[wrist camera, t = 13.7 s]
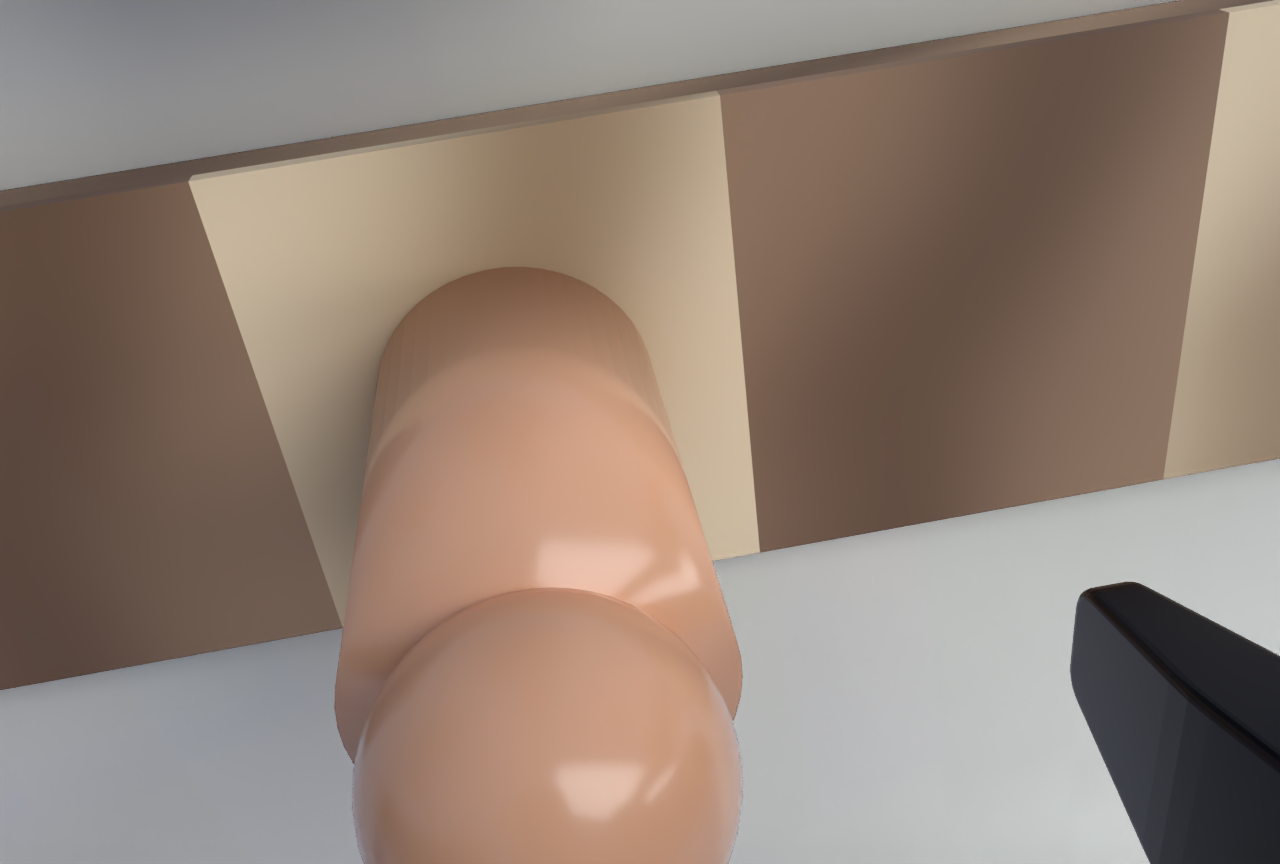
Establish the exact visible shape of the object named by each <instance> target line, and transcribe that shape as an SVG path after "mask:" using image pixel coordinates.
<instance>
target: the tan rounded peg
mask: <svg viewBox="0 0 1280 864" xmlns="http://www.w3.org/2000/svg"><path fill="white" fill-rule="evenodd" d="M742 678H743V677H742V663H741V656H740V652H739V648H738V644H737V640H736V637H735V633H734V630H733V627H732V624H731V620H730V617H729V614H728V611H727V607H726V604H725V601H724V598H723V594H722V591H721V588H720V585H719V581H718V578H717V575H716V572H715V568H714V565H713V562H712V559H711V555H710V552H709V549H708V546H707V542H706V539H705V536H704V533H703V529H702V526H701V523H700V520H699V516H698V513H697V510H696V507H695V503H694V500H693V497H692V494H691V490H690V487H689V484H688V481H687V478H686V474H685V471H684V468H683V465H682V461H681V458H680V455H679V452H678V448H677V445H676V442H675V439H674V435H673V432H672V429H671V426H670V422H669V419H668V416H667V413H666V409H665V406H664V403H663V400H662V396H661V393H660V390H659V387H658V383H657V380H656V377H655V374H654V370H653V367H652V364H651V361H650V357H649V354H648V351H647V349H646V346H645V344H644V342H643V339H642V337H641V335H640V333H639V332H638V330H637V329H636V327H635V325H634V324H633V322H632V321H631V320H630V318H629V317H628V316H627V315H626V314H625V312H624V311H623V310H622V309H621V308H620V307H619V306H618V305H617V304H616V303H614V302H613V301H612V300H611V299H610V298H609V297H608V296H606V295H605V294H603V293H602V292H600V291H599V290H597V289H596V288H594V287H593V286H591V285H589V284H587V283H585V282H583V281H581V280H579V279H576V278H574V277H571V276H568V275H565V274H562V273H559V272H555V271H550V270H546V269H540V268H529V267H503V268H496V269H490V270H484V271H480V272H476V273H473V274H469V275H466V276H463V277H461V278H459V279H456V280H454V281H451V282H449V283H447V284H445V285H444V286H442V287H440V288H438V289H437V290H435V291H433V292H432V293H430V294H429V295H428V296H427V297H425V298H424V299H423V300H421V301H420V302H419V303H417V304H416V305H415V307H414V308H413V309H412V310H411V311H410V312H409V313H408V314H407V315H406V316H405V317H404V318H403V319H402V321H401V322H400V323H399V325H398V326H397V327H396V329H395V330H394V332H393V334H392V336H391V338H390V339H389V341H388V343H387V345H386V348H385V350H384V353H383V356H382V359H381V362H380V367H379V372H378V377H377V385H376V392H375V399H374V407H373V414H372V421H371V428H370V436H369V443H368V450H367V458H366V465H365V472H364V480H363V487H362V494H361V502H360V509H359V516H358V524H357V531H356V538H355V545H354V553H353V560H352V567H351V575H350V582H349V589H348V597H347V604H346V611H345V619H344V626H343V633H342V641H341V648H340V655H339V663H338V670H337V677H336V684H335V706H334V708H335V715H336V721H337V728H338V730H339V733H340V736H341V739H342V742H343V745H344V747H345V749H346V751H347V753H348V755H349V756H350V758H351V760H352V762H353V764H354V770H353V794H352V811H353V817H354V824H355V830H356V837H357V843H358V848H359V851H360V854H361V857H362V860H363V863H364V864H728V863H729V860H730V857H731V854H732V851H733V847H734V844H735V841H736V837H737V834H738V829H739V822H740V815H741V807H742V798H743V781H742V764H741V755H740V750H739V744H738V739H737V735H736V732H735V728H734V724H733V720H734V718H735V715H736V712H737V708H738V704H739V701H740V697H741V688H742Z"/></svg>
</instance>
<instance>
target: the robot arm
mask: <svg viewBox="0 0 1280 864" xmlns="http://www.w3.org/2000/svg"><path fill="white" fill-rule="evenodd" d="M1070 673H1071V681H1072V686H1073V690H1074V693H1075V696H1076V699H1077V701H1078V704H1079V706H1080V708H1081V710H1082V713H1083V715H1084V717H1085V719H1086V722H1087V724H1088V726H1089V728H1090V731H1091V733H1092V735H1093V737H1094V740H1095V742H1096V744H1097V746H1098V748H1099V751H1100V753H1101V755H1102V757H1103V760H1104V762H1105V764H1106V766H1107V769H1108V771H1109V773H1110V775H1111V778H1112V780H1113V782H1114V784H1115V787H1116V789H1117V791H1118V793H1119V796H1120V798H1121V800H1122V802H1123V805H1124V807H1125V809H1126V811H1127V814H1128V816H1129V818H1130V820H1131V823H1132V825H1133V827H1134V829H1135V831H1136V834H1137V836H1138V838H1139V840H1140V843H1141V845H1142V847H1143V849H1144V851H1145V853H1146V856H1147V858H1148V860H1149V862H1150V864H1280V656H1279V655H1277V654H1275V653H1273V652H1271V651H1269V650H1267V649H1265V648H1263V647H1262V646H1260V645H1258V644H1256V643H1254V642H1252V641H1250V640H1248V639H1246V638H1244V637H1242V636H1240V635H1238V634H1237V633H1235V632H1233V631H1231V630H1229V629H1227V628H1225V627H1223V626H1221V625H1219V624H1217V623H1215V622H1214V621H1212V620H1210V619H1208V618H1206V617H1204V616H1202V615H1200V614H1198V613H1196V612H1194V611H1192V610H1190V609H1189V608H1187V607H1185V606H1183V605H1181V604H1179V603H1177V602H1175V601H1173V600H1171V599H1169V598H1167V597H1165V596H1164V595H1162V594H1160V593H1158V592H1156V591H1154V590H1152V589H1150V588H1148V587H1146V586H1144V585H1142V584H1139V583H1136V582H1122V583H1117V584H1111V585H1106V586H1100V587H1095V588H1090V589H1088V590H1086V591H1084V592H1083V593H1082V594H1081V595H1080V597H1079V599H1078V602H1077V606H1076V615H1075V625H1074V635H1073V644H1072V654H1071V664H1070Z"/></svg>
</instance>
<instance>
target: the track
mask: <svg viewBox="0 0 1280 864" xmlns="http://www.w3.org/2000/svg"><path fill="white" fill-rule="evenodd" d="M503 267H529V268H540V269H546V270H550V271H555V272H559V273H562V274H565V275H568V276H571V277H574V278H576V279H579V280H581V281H583V282H585V283H587V284H589V285H591V286H593V287H594V288H596V289H597V290H599V291H600V292H602V293H603V294H605V295H606V296H608V297H609V298H610V299H611V300H612V301H613V302H614V303H616V304H617V305H618V306H619V307H620V308H621V309H622V310H623V311H624V312H625V314H626V315H627V316H628V317H629V318H630V320H631V321H632V322H633V324H634V325H635V327H636V329H637V330H638V332H639V333H640V335H641V337H642V339H643V342H644V344H645V346H646V349H647V351H648V354H649V357H650V361H651V364H652V367H653V370H654V374H655V377H656V380H657V383H658V387H659V390H660V393H661V396H662V400H663V403H664V406H665V409H666V413H667V416H668V419H669V422H670V426H671V429H672V432H673V435H674V439H675V442H676V445H677V448H678V452H679V455H680V458H681V461H682V465H683V468H684V471H685V474H686V478H687V481H688V484H689V487H690V490H691V494H692V497H693V500H694V503H695V507H696V510H697V513H698V516H699V520H700V523H701V526H702V529H703V533H704V536H705V539H706V542H707V546H708V549H709V552H710V555H711V559H712V561H716V560H721V559H727V558H732V557H738V556H743V555H749V554H754V553H760V552H765V551H771V550H777V549H782V548H788V547H793V546H799V545H804V544H810V543H815V542H821V541H826V540H832V539H837V538H843V537H848V536H854V535H859V534H865V533H870V532H876V531H881V530H887V529H892V528H898V527H904V526H909V525H915V524H920V523H926V522H931V521H937V520H942V519H948V518H953V517H959V516H964V515H970V514H975V513H981V512H986V511H992V510H997V509H1003V508H1008V507H1014V506H1019V505H1025V504H1030V503H1036V502H1042V501H1047V500H1053V499H1058V498H1064V497H1069V496H1075V495H1080V494H1086V493H1091V492H1097V491H1102V490H1108V489H1113V488H1119V487H1124V486H1130V485H1135V484H1141V483H1146V482H1152V481H1157V480H1163V479H1169V478H1174V477H1180V476H1185V475H1191V474H1196V473H1202V472H1207V471H1213V470H1218V469H1224V468H1229V467H1235V466H1240V465H1246V464H1251V463H1257V462H1262V461H1268V460H1273V459H1279V458H1280V0H1181V1H1175V2H1169V3H1163V4H1156V5H1150V6H1144V7H1138V8H1132V9H1125V10H1119V11H1113V12H1107V13H1101V14H1094V15H1088V16H1082V17H1076V18H1070V19H1063V20H1057V21H1051V22H1045V23H1039V24H1032V25H1026V26H1020V27H1014V28H1008V29H1001V30H995V31H989V32H983V33H977V34H970V35H964V36H958V37H952V38H946V39H939V40H933V41H927V42H921V43H915V44H908V45H902V46H896V47H890V48H884V49H877V50H871V51H865V52H859V53H853V54H846V55H840V56H834V57H828V58H821V59H815V60H809V61H803V62H797V63H790V64H784V65H778V66H772V67H766V68H759V69H753V70H747V71H741V72H735V73H728V74H722V75H716V76H710V77H704V78H697V79H691V80H685V81H679V82H673V83H666V84H660V85H654V86H648V87H642V88H635V89H629V90H623V91H617V92H611V93H604V94H598V95H592V96H586V97H580V98H573V99H567V100H561V101H555V102H549V103H542V104H536V105H530V106H524V107H518V108H511V109H505V110H499V111H493V112H487V113H480V114H474V115H468V116H462V117H456V118H449V119H443V120H437V121H431V122H425V123H418V124H412V125H406V126H400V127H394V128H387V129H381V130H375V131H369V132H363V133H356V134H350V135H344V136H338V137H332V138H325V139H319V140H313V141H307V142H301V143H294V144H288V145H282V146H276V147H270V148H263V149H257V150H251V151H245V152H239V153H232V154H226V155H220V156H214V157H208V158H201V159H195V160H189V161H183V162H177V163H170V164H164V165H158V166H152V167H146V168H139V169H133V170H127V171H121V172H115V173H108V174H102V175H96V176H90V177H84V178H77V179H71V180H65V181H59V182H52V183H46V184H40V185H34V186H28V187H21V188H15V189H9V190H3V191H0V690H4V689H9V688H15V687H20V686H26V685H31V684H37V683H42V682H48V681H53V680H59V679H64V678H70V677H75V676H81V675H86V674H92V673H97V672H103V671H108V670H114V669H120V668H125V667H131V666H136V665H142V664H147V663H153V662H158V661H164V660H169V659H175V658H180V657H186V656H191V655H197V654H202V653H208V652H213V651H219V650H224V649H230V648H235V647H241V646H246V645H252V644H258V643H263V642H269V641H274V640H280V639H285V638H291V637H296V636H302V635H307V634H313V633H318V632H324V631H329V630H335V629H340V628H343V626H344V619H345V611H346V604H347V597H348V589H349V582H350V575H351V567H352V560H353V553H354V545H355V538H356V531H357V524H358V516H359V509H360V502H361V494H362V487H363V480H364V472H365V465H366V458H367V450H368V443H369V436H370V428H371V421H372V414H373V407H374V399H375V392H376V385H377V377H378V372H379V367H380V362H381V359H382V356H383V353H384V350H385V348H386V345H387V343H388V341H389V339H390V338H391V336H392V334H393V332H394V330H395V329H396V327H397V326H398V325H399V323H400V322H401V321H402V319H403V318H404V317H405V316H406V315H407V314H408V313H409V312H410V311H411V310H412V309H413V308H414V307H415V305H416V304H417V303H419V302H420V301H421V300H423V299H424V298H425V297H427V296H428V295H429V294H430V293H432V292H433V291H435V290H437V289H438V288H440V287H442V286H444V285H445V284H447V283H449V282H451V281H454V280H456V279H459V278H461V277H463V276H466V275H469V274H473V273H476V272H480V271H484V270H490V269H496V268H503Z"/></svg>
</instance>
